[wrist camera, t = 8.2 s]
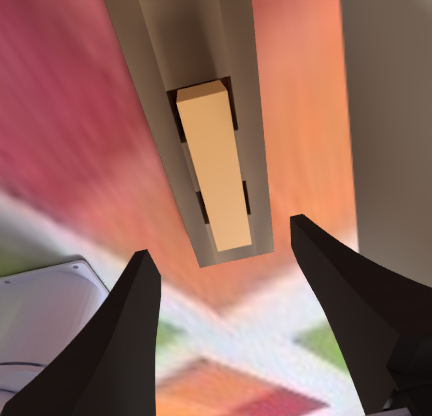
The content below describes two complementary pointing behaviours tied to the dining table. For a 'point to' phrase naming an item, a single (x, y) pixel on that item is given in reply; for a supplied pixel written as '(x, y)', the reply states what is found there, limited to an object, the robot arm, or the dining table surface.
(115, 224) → the dining table surface
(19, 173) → the dining table surface
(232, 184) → the tan wooden beam
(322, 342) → the dining table surface
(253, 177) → the rail
